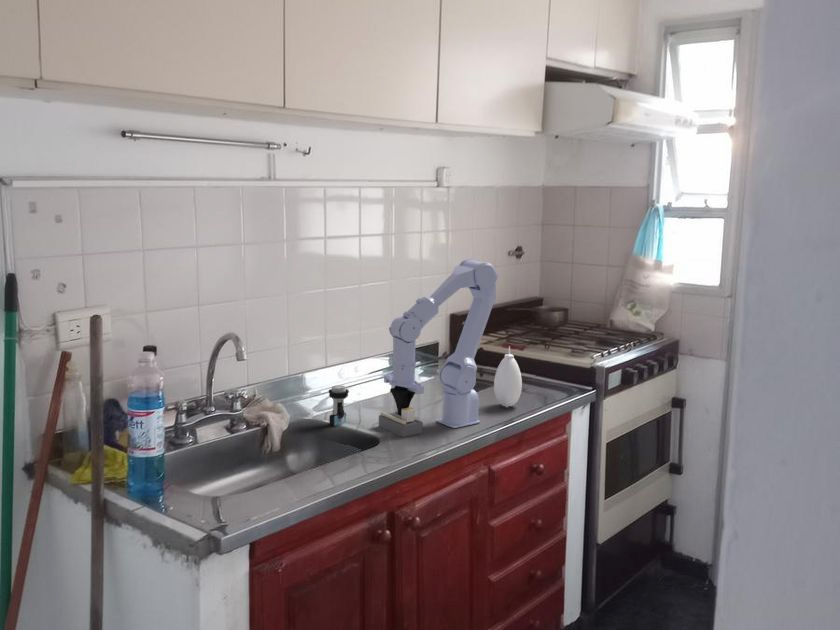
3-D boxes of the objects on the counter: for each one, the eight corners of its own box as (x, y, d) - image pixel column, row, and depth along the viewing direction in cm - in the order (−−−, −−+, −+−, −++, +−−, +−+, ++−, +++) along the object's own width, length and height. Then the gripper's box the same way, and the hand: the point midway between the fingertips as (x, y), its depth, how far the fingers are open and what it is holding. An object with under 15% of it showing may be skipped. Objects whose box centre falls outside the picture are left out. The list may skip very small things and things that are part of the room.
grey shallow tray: (397, 422, 218) (397, 408, 218) (422, 433, 210) (422, 418, 209) (378, 426, 215) (378, 411, 214) (403, 437, 206) (404, 422, 206)
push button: (339, 418, 221) (339, 382, 219) (355, 421, 218) (355, 385, 217) (324, 424, 215) (324, 387, 214) (340, 427, 213) (341, 390, 211)
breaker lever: (408, 418, 211) (409, 406, 211) (414, 420, 209) (414, 408, 209) (401, 420, 210) (401, 408, 209) (406, 422, 208) (407, 410, 207)
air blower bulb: (525, 408, 235) (528, 347, 232) (504, 411, 231) (506, 349, 228) (509, 401, 242) (512, 342, 239) (488, 404, 238) (490, 344, 235)
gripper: (374, 360, 212) (374, 410, 214) (408, 371, 201) (407, 424, 203) (396, 357, 216) (395, 406, 218) (430, 368, 205) (429, 419, 207)
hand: (402, 415), depth 211 cm, fingers closed
